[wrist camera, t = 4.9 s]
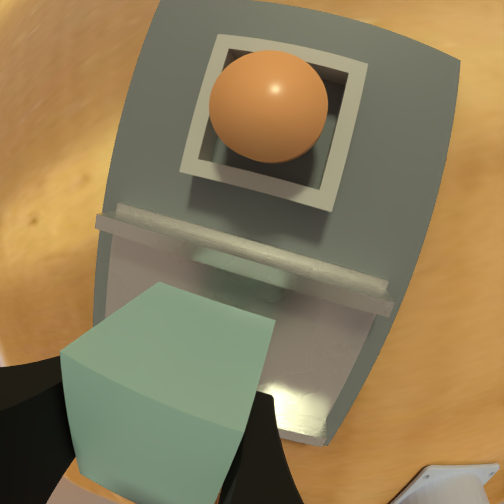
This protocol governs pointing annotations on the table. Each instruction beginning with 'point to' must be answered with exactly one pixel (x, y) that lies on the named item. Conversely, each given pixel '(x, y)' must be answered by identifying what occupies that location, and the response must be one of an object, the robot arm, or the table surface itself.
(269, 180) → the button housing
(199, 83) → the holder board
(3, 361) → the table surface
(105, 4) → the table surface
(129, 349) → the block
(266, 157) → the button
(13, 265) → the table surface
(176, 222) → the metal rail
